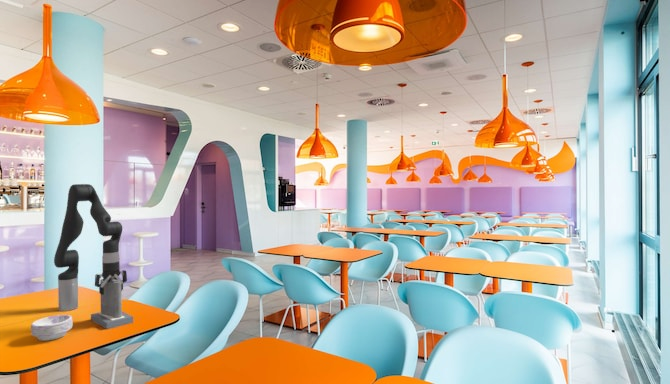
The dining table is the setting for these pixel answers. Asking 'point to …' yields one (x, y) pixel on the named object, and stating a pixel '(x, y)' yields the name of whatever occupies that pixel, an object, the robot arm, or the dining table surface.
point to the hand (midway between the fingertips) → (111, 292)
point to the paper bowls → (51, 327)
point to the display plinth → (111, 320)
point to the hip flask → (112, 298)
